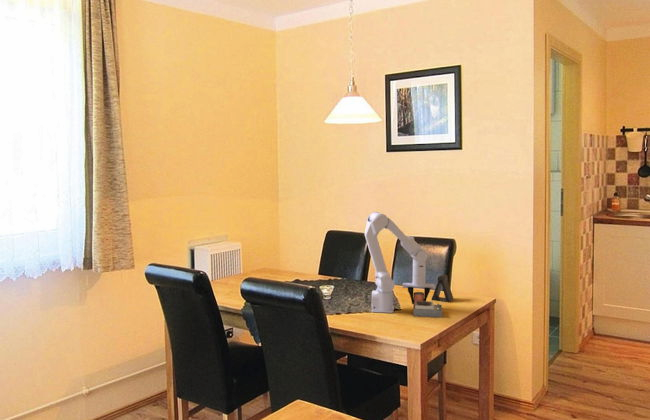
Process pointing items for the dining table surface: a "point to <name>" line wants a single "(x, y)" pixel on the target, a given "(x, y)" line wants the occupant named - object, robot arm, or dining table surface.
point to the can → (418, 296)
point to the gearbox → (427, 309)
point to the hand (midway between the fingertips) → (418, 303)
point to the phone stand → (446, 288)
